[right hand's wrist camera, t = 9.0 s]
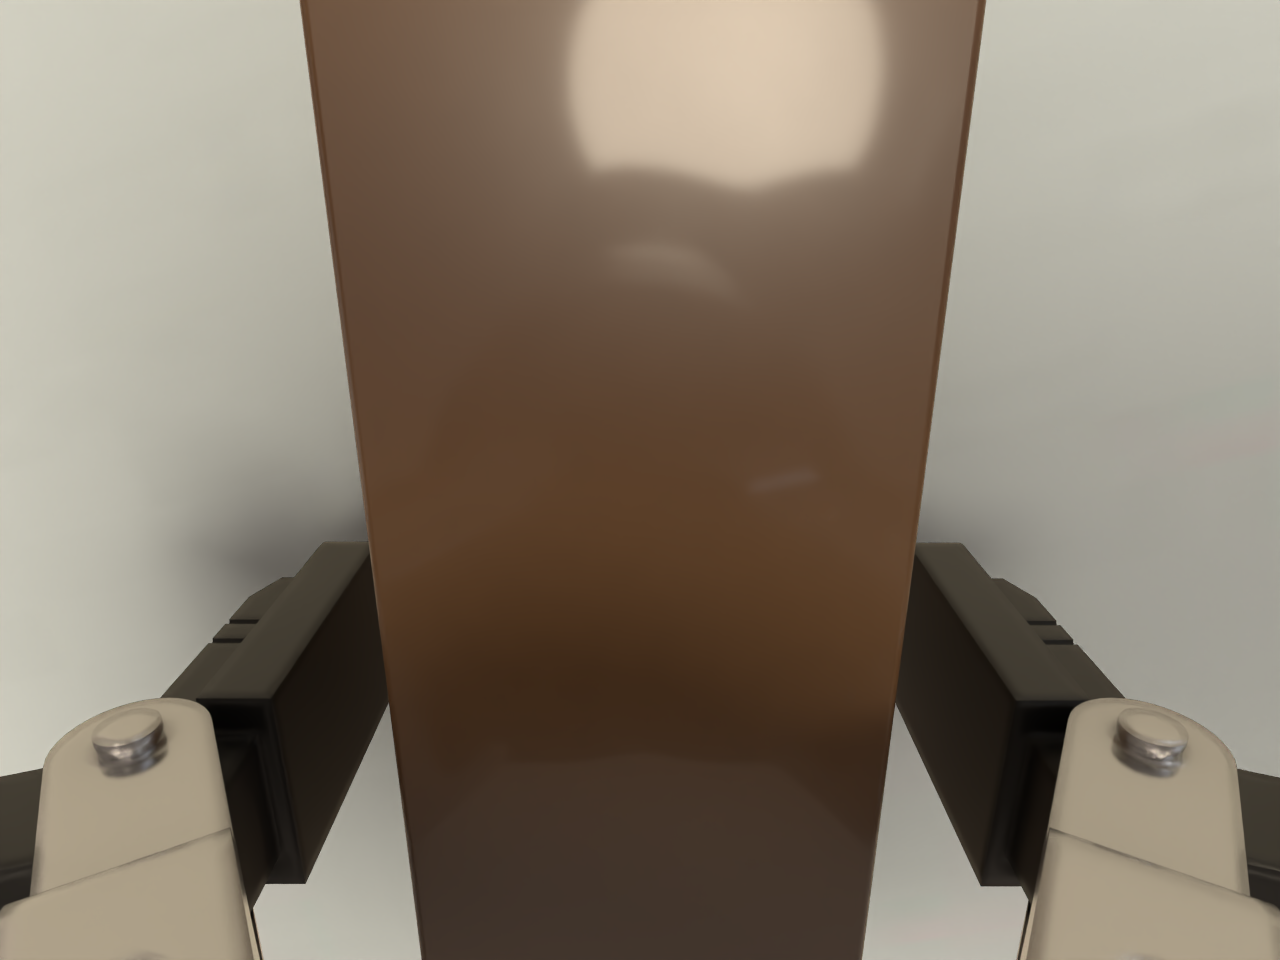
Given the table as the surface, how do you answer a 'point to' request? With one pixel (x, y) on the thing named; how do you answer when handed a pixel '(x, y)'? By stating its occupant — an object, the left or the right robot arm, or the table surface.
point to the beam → (642, 444)
